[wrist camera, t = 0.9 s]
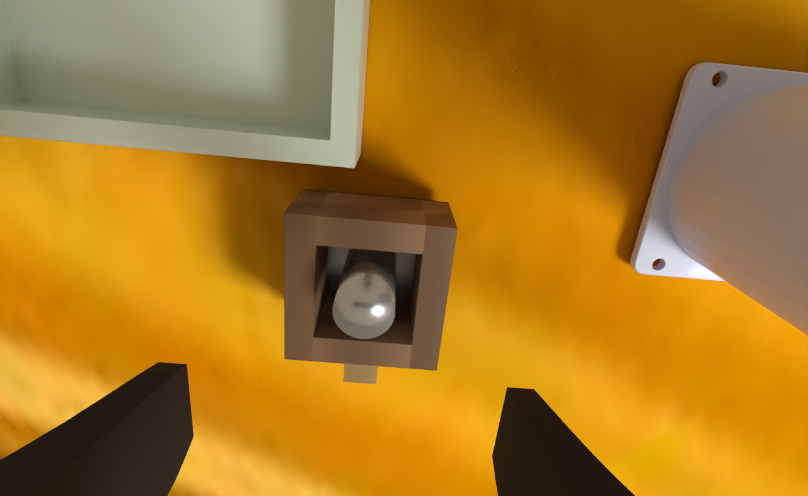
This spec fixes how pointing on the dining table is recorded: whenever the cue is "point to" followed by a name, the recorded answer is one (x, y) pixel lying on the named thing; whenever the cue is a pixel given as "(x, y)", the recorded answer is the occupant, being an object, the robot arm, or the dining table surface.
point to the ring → (372, 230)
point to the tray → (189, 75)
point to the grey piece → (367, 288)
